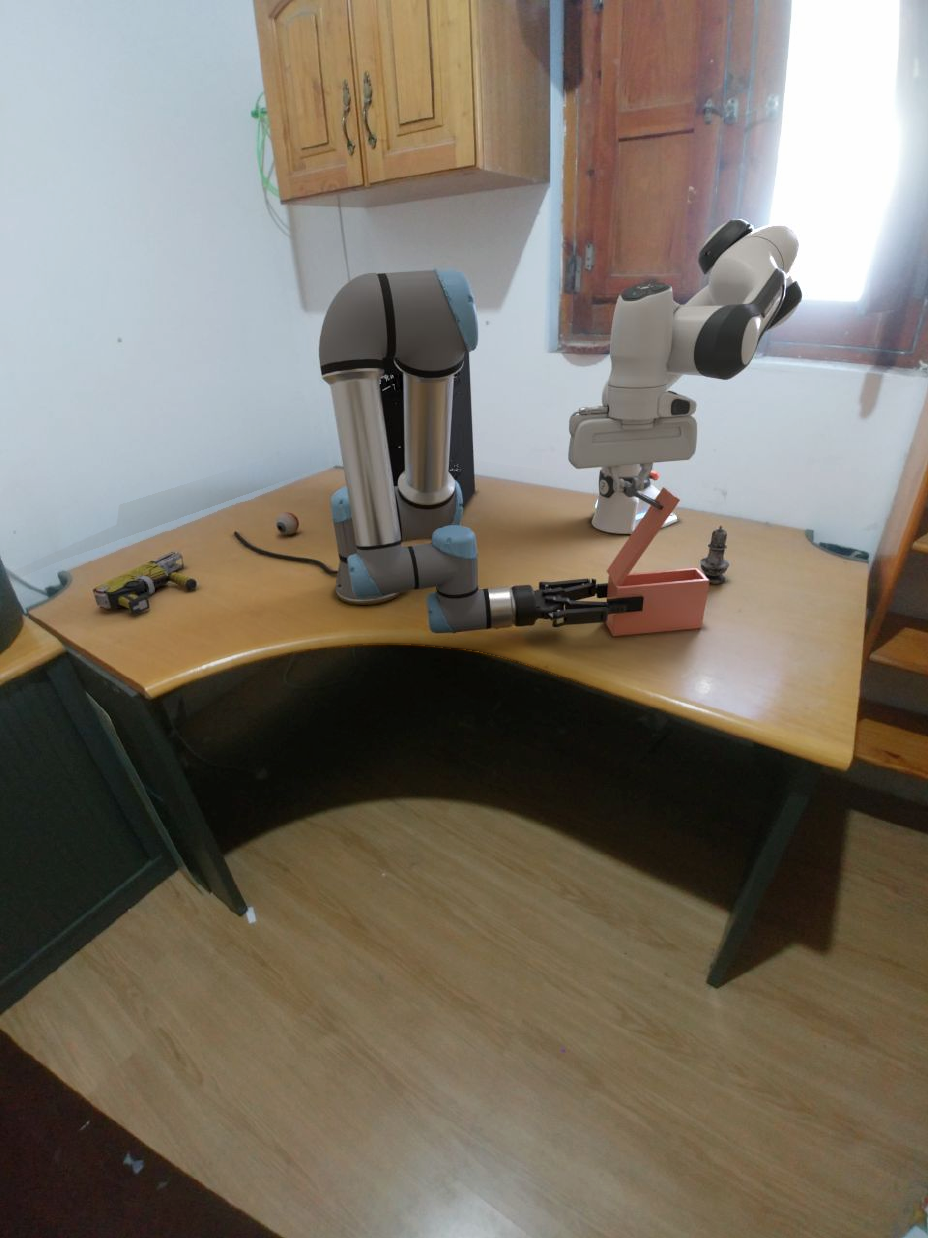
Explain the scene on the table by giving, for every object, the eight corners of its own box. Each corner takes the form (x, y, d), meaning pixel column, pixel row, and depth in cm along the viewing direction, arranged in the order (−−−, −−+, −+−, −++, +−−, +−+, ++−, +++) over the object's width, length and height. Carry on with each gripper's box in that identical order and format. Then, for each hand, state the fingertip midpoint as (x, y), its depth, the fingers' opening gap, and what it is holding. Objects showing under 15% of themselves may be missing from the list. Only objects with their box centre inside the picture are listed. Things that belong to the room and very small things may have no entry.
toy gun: (220, 560, 144) (169, 549, 148) (142, 602, 124) (86, 589, 128) (223, 577, 146) (173, 566, 150) (147, 622, 126) (91, 608, 130)
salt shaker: (728, 584, 127) (739, 531, 121) (699, 583, 128) (707, 530, 122) (724, 572, 132) (733, 520, 126) (695, 571, 133) (703, 519, 127)
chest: (689, 613, 117) (697, 567, 112) (701, 628, 113) (709, 580, 108) (604, 621, 117) (608, 575, 111) (613, 636, 112) (617, 588, 107)
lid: (668, 489, 104) (627, 467, 101) (680, 499, 99) (638, 477, 97) (611, 573, 111) (571, 555, 109) (620, 586, 107) (579, 567, 104)
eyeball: (273, 537, 164) (268, 516, 161) (287, 528, 169) (282, 508, 166) (291, 539, 161) (286, 518, 158) (305, 530, 166) (301, 510, 163)
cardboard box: (444, 537, 157) (431, 349, 135) (371, 534, 162) (346, 352, 139) (475, 491, 189) (468, 332, 166) (413, 489, 193) (398, 335, 171)
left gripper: (504, 601, 120) (619, 591, 121) (520, 651, 104) (652, 639, 105) (504, 566, 116) (622, 556, 117) (520, 613, 100) (657, 601, 101)
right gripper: (575, 412, 90) (571, 501, 97) (707, 402, 92) (694, 490, 98) (564, 404, 96) (562, 489, 103) (689, 395, 97) (678, 479, 104)
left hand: (636, 595), depth 111 cm, fingers closed on chest, 5 cm apart
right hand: (628, 489), depth 100 cm, fingers closed, pressing on lid
